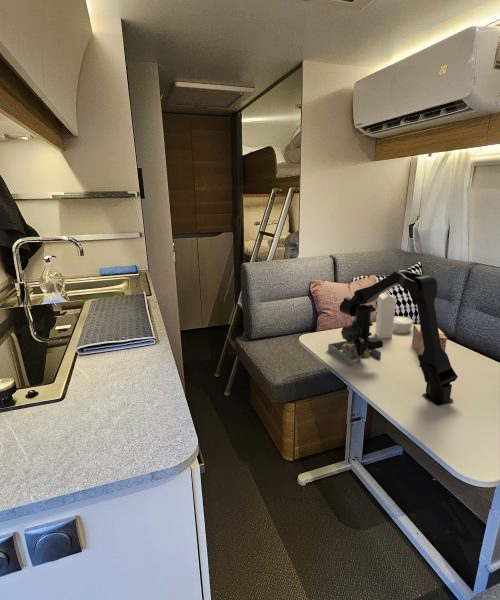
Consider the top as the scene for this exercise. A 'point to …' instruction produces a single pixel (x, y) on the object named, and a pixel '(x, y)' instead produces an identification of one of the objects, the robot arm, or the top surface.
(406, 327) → the ramekin
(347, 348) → the egg carton
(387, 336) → the milk
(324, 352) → the top surface
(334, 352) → the box
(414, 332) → the stack of blocks
